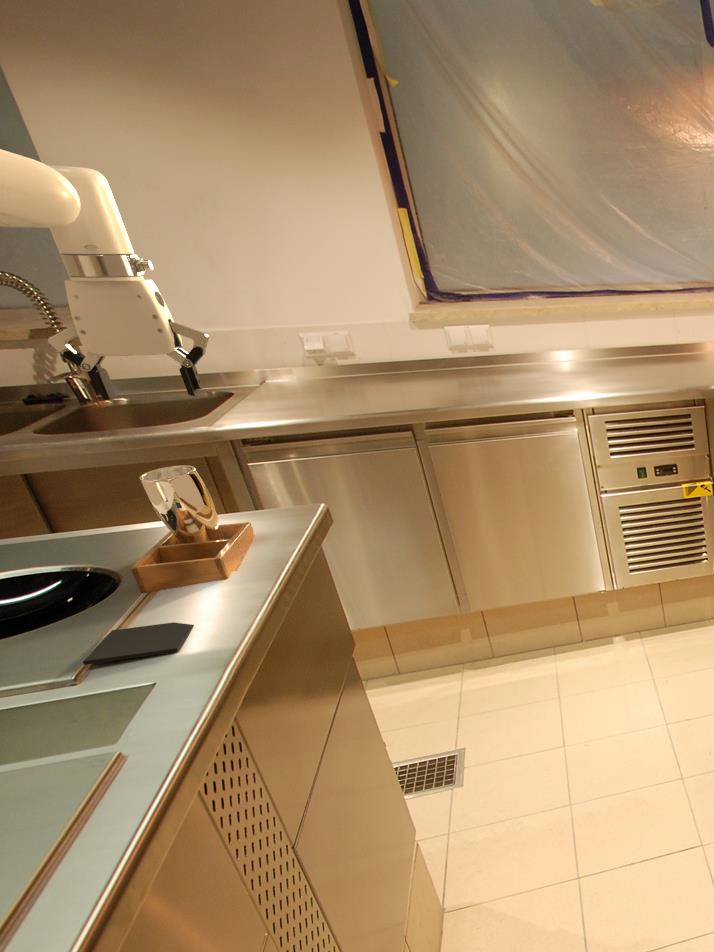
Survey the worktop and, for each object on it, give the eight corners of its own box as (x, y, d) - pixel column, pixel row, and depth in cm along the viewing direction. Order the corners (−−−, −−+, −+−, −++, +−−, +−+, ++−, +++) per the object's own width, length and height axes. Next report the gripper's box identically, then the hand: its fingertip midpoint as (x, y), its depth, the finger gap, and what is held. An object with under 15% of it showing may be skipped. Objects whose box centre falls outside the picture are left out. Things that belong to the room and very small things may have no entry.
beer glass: (174, 569, 131) (125, 478, 123) (217, 551, 137) (172, 463, 129) (209, 574, 130) (161, 482, 122) (251, 555, 135) (208, 466, 128)
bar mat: (83, 665, 102) (82, 661, 102) (113, 633, 110) (111, 630, 110) (178, 651, 106) (176, 648, 105) (200, 622, 114) (198, 619, 113)
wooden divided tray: (143, 600, 120) (129, 568, 118) (183, 558, 135) (171, 529, 133) (232, 590, 124) (220, 558, 122) (260, 550, 140) (250, 521, 137)
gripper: (191, 268, 122) (233, 389, 129) (30, 267, 114) (85, 395, 122) (175, 270, 116) (220, 397, 123) (5, 269, 108) (64, 404, 116)
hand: (153, 396), depth 123 cm, fingers open, 9 cm apart
